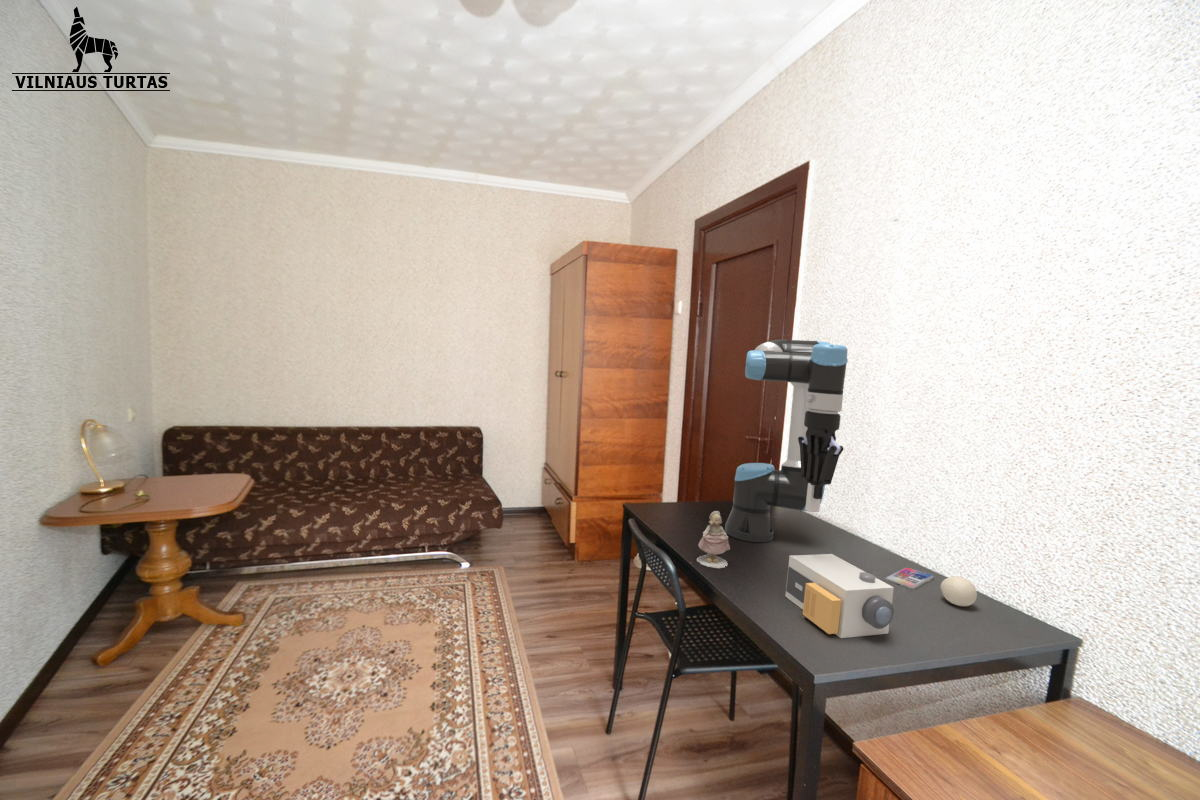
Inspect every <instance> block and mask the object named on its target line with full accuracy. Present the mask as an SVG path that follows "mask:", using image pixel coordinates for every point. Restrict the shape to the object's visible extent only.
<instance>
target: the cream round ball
mask: <svg viewBox="0 0 1200 800" xmlns="http://www.w3.org/2000/svg"><path fill="white" fill-rule="evenodd" d="M940 590H941V592H942V595H943V596H944V598H945V599H946V600H947V602H948V603H951V604H953V605H955V606H958V607H969V606H971V605H973V604H974V603H975V601H976V600H977V597H978V593H977V592H978V591H977V588H976V587H975V585H974V584H973V583H972V582H971V581H970V580H969V579H967V578H964V577H962V576H949V577H947V578H944V579H943V580H942V581H941V583H940Z"/></svg>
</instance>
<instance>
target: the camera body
mask: <svg viewBox="0 0 1200 800" xmlns="http://www.w3.org/2000/svg"><path fill="white" fill-rule="evenodd" d="M786 576H787V577H786V585H785V598H787V599H788V600H789V601H791V602H792V603H793V604H795V606H798V608H800V609H801V610H803V605H804V596H805V587H806V583H816V584H817V585H819V586H820V587H822V588H823V589H825V590H826V591H828V592H830V593H831V594H833V595H834V596H836V597H837V598H839V599H840V600H841V608H840V617H839V626H838V633H837V634H835V635H836V636H837V637H839V638H840V639H846V638H847V639H848V638H856V637H857V638H858V637H866V636H878V635H879V636H880V635H886V634H887V635H888V634H889V631H890V623H891V622H892V620H893V617H894V606H893V597H894V589H895V588H894V586H892V585H890V584H888V583H887V582H884V581H883V580H881V579H879V578H877V577H876V576H875V574H872V573H869V572H866V571H864V570H863V569H860V568H859V567H858V566H855V565H853V564H851V563H850V562H847V561H846V560H844V559H842V558H840V557H838V556H837V555H834V554H833V553H820V554H818V553H817V554H799V555H795V554H794V555H789V556H788V569H787V575H786Z"/></svg>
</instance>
